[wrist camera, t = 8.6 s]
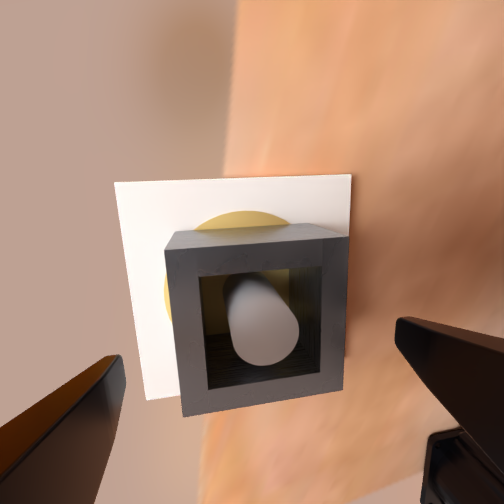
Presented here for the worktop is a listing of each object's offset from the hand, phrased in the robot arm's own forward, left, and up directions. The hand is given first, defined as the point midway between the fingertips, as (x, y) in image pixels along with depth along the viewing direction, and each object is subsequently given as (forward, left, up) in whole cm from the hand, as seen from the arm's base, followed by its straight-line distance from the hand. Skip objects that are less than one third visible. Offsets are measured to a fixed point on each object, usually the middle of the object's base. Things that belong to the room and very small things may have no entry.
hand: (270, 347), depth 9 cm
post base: (0, 0, -6) cm, 6 cm away
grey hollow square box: (0, 0, -5) cm, 5 cm away
